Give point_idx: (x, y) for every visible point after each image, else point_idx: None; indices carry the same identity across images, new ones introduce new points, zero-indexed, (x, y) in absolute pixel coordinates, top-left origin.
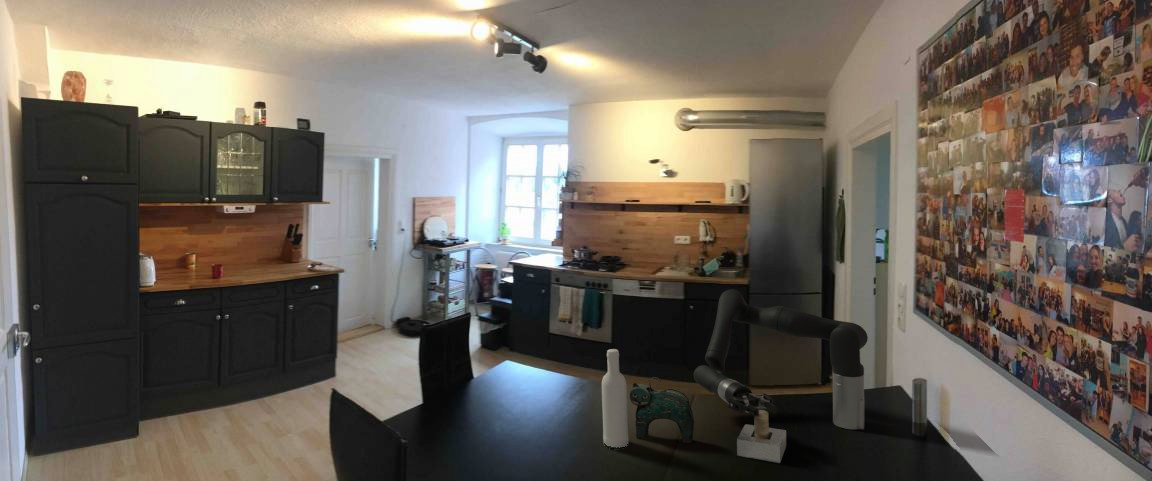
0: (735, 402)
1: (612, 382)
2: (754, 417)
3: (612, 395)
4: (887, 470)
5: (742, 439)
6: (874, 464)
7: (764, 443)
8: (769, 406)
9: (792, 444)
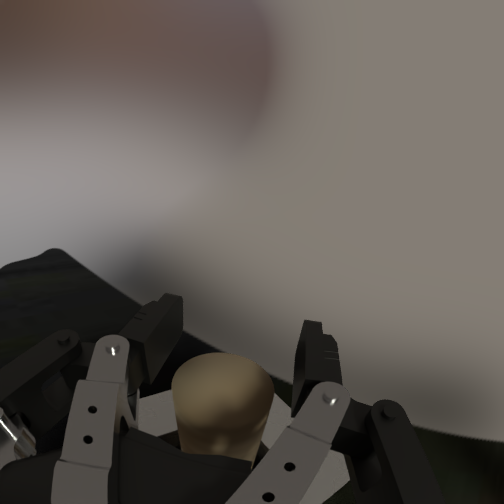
0: (420, 464)
1: None
2: (262, 430)
3: None
4: (102, 282)
5: (340, 458)
6: (89, 294)
7: (278, 399)
8: (162, 336)
9: None
